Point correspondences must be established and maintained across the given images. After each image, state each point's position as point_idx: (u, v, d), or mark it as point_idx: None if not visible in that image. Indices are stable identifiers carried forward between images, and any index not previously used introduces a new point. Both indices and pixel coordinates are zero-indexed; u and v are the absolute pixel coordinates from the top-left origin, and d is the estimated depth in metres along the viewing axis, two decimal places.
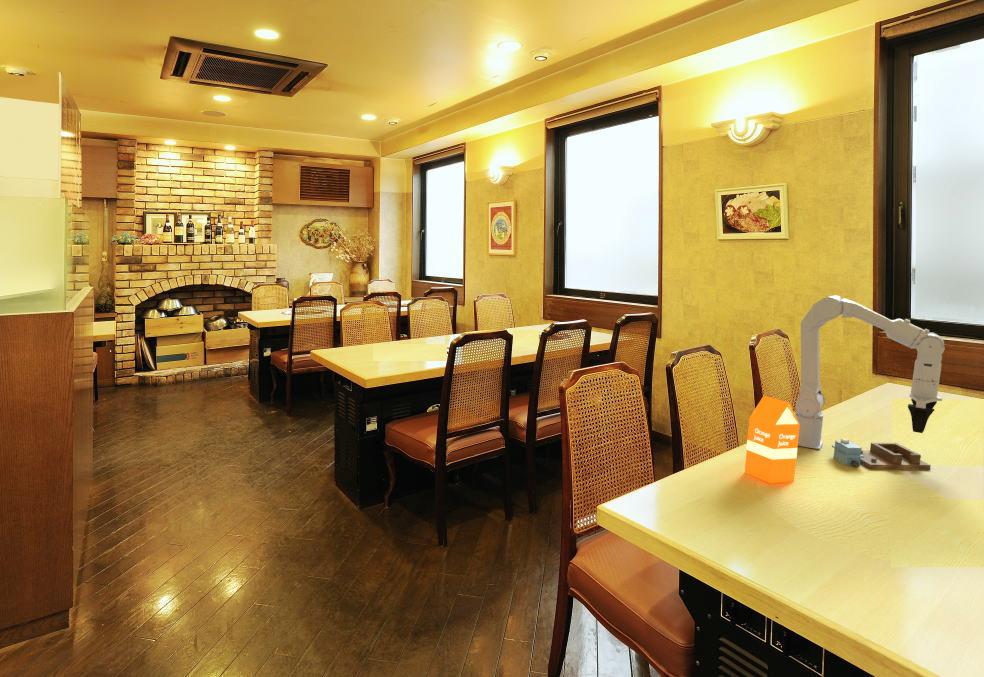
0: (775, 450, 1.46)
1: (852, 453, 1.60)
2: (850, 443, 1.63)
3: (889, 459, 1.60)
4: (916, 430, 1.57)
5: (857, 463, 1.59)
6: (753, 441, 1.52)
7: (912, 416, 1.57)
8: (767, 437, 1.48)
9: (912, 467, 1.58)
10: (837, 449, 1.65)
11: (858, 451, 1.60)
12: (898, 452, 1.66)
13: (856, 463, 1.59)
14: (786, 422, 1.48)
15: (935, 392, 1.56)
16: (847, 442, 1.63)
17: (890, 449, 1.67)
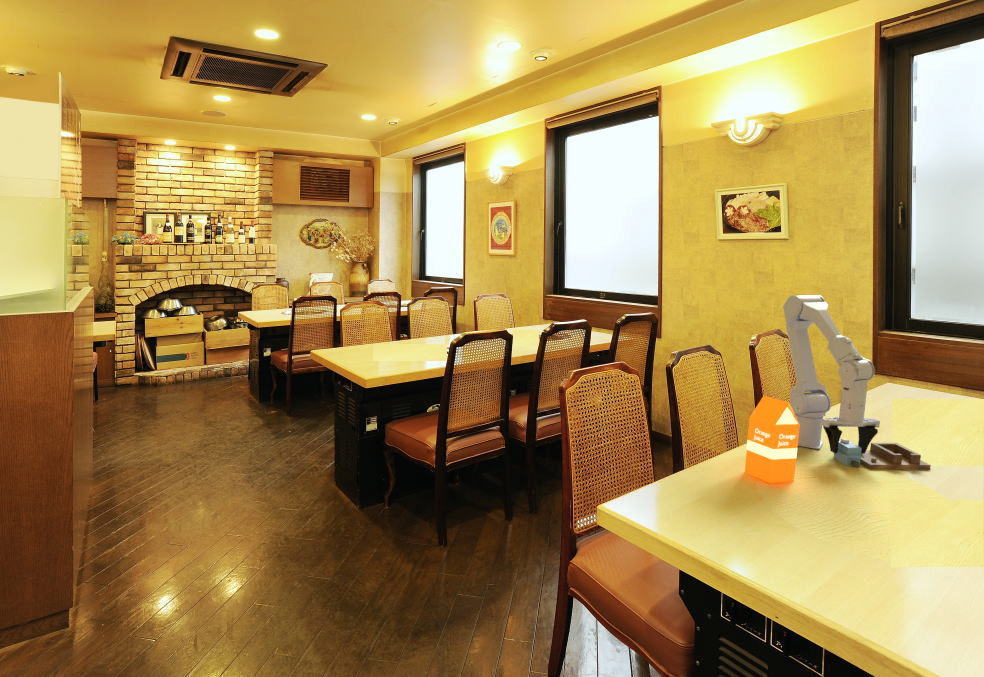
0: (775, 450, 1.46)
1: (852, 453, 1.60)
2: (850, 443, 1.63)
3: (889, 459, 1.60)
4: (831, 450, 1.63)
5: (857, 463, 1.59)
6: (753, 441, 1.52)
7: (827, 435, 1.64)
8: (767, 437, 1.48)
9: (912, 467, 1.58)
10: None
11: (858, 451, 1.60)
12: (898, 452, 1.66)
13: (856, 463, 1.59)
14: (786, 422, 1.48)
15: (851, 416, 1.59)
16: (847, 442, 1.63)
17: (890, 449, 1.67)
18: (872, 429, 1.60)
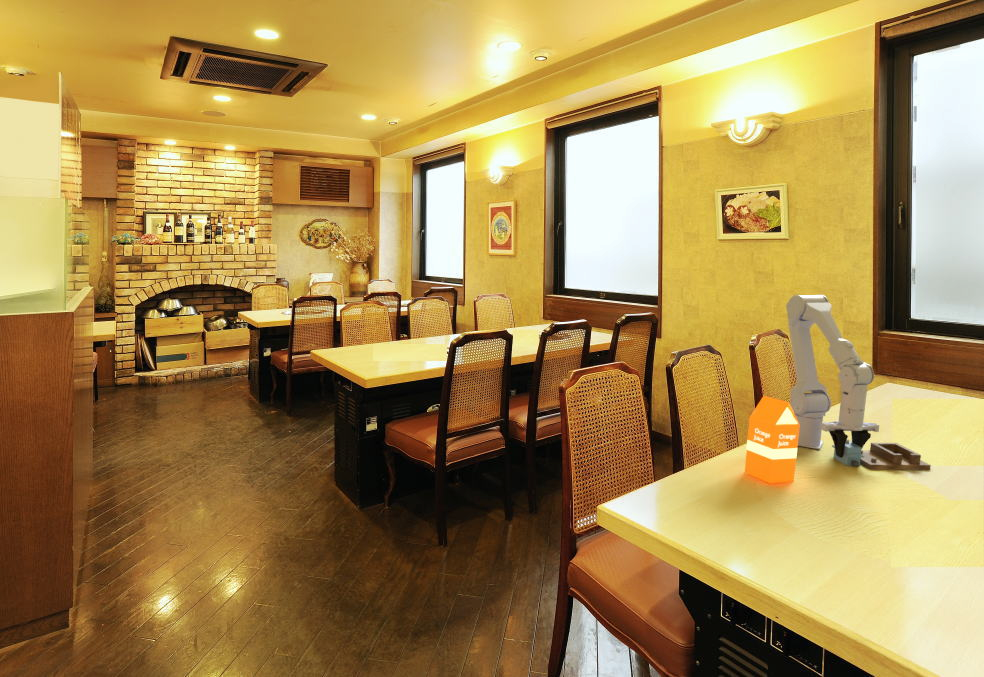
0: (775, 450, 1.46)
1: (852, 453, 1.60)
2: (850, 443, 1.63)
3: (889, 459, 1.60)
4: (837, 454, 1.64)
5: (857, 463, 1.59)
6: (753, 441, 1.52)
7: (833, 439, 1.64)
8: (767, 437, 1.48)
9: (912, 467, 1.58)
10: None
11: (858, 451, 1.60)
12: (898, 452, 1.66)
13: (856, 463, 1.59)
14: (786, 422, 1.48)
15: (851, 421, 1.59)
16: (847, 442, 1.63)
17: (890, 449, 1.67)
18: (865, 433, 1.60)
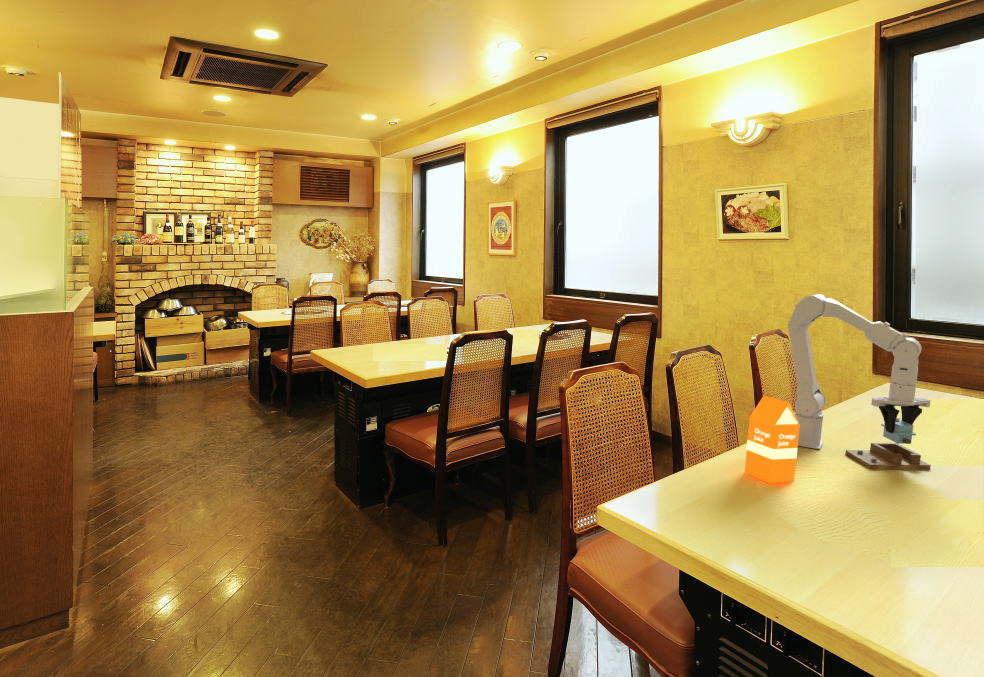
0: (775, 450, 1.46)
1: (904, 431, 1.59)
2: (901, 421, 1.62)
3: (889, 459, 1.60)
4: (887, 429, 1.63)
5: (909, 441, 1.58)
6: (753, 441, 1.52)
7: None
8: (767, 437, 1.48)
9: (912, 467, 1.58)
10: None
11: (910, 429, 1.59)
12: (898, 452, 1.66)
13: (908, 441, 1.58)
14: (786, 422, 1.48)
15: (902, 395, 1.58)
16: (898, 420, 1.62)
17: (890, 449, 1.67)
18: (916, 408, 1.59)
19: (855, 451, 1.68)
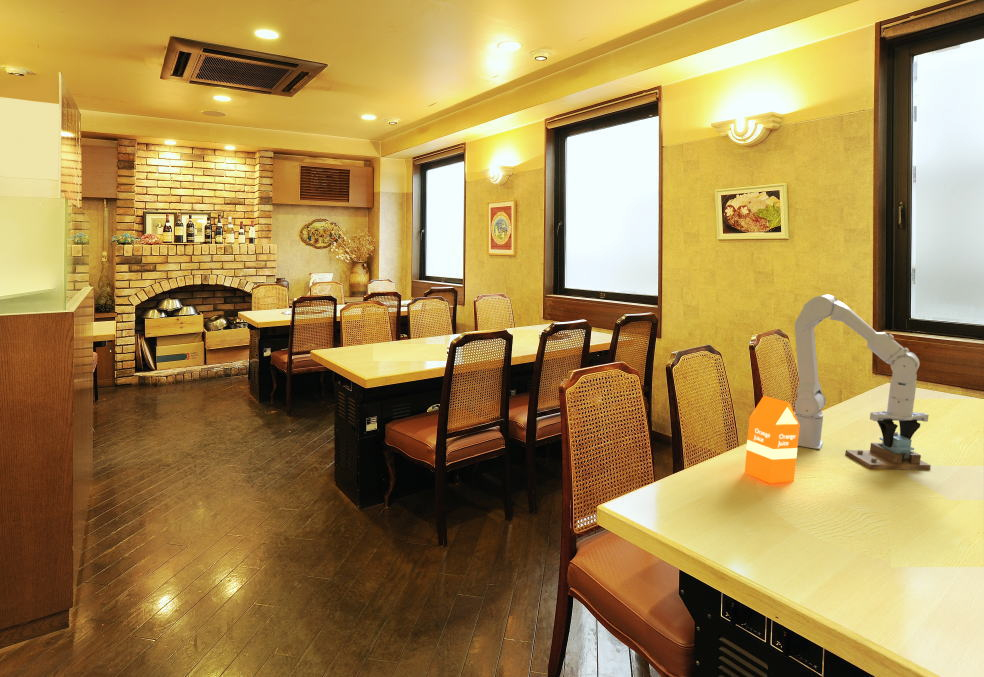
0: (775, 450, 1.46)
1: (902, 445, 1.60)
2: (899, 435, 1.63)
3: (889, 459, 1.60)
4: (885, 444, 1.63)
5: (907, 455, 1.59)
6: (753, 441, 1.52)
7: (881, 429, 1.64)
8: (767, 437, 1.48)
9: (912, 467, 1.58)
10: None
11: (908, 443, 1.59)
12: None
13: (906, 455, 1.59)
14: (786, 422, 1.48)
15: (901, 410, 1.59)
16: (896, 434, 1.63)
17: None
18: (914, 423, 1.60)
19: (855, 451, 1.68)
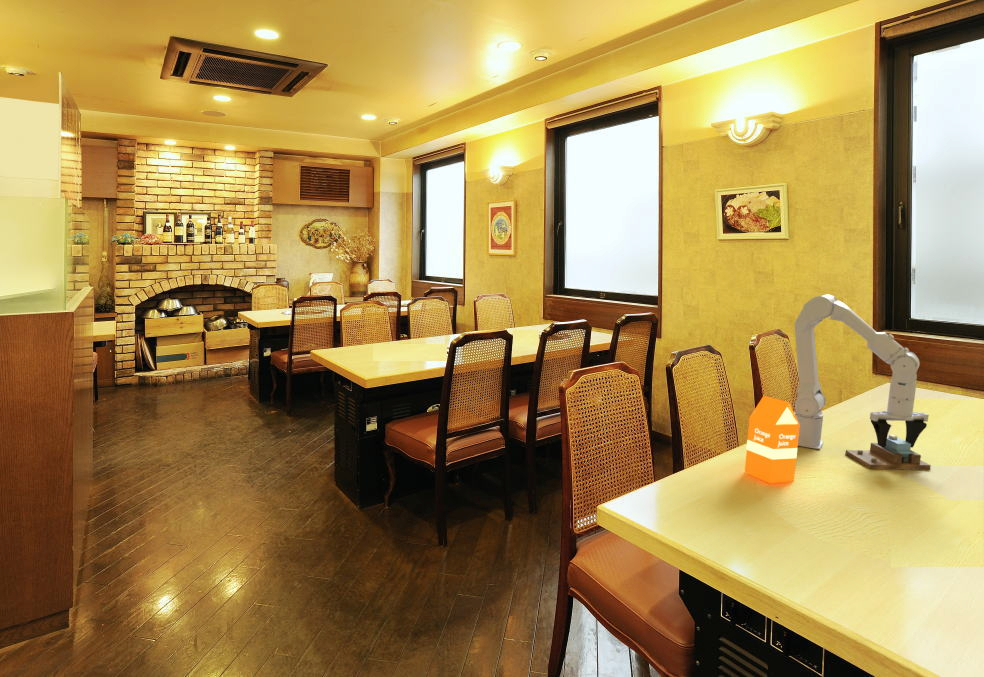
0: (775, 450, 1.46)
1: (901, 449, 1.60)
2: (898, 439, 1.63)
3: (889, 459, 1.60)
4: (879, 444, 1.63)
5: (907, 459, 1.59)
6: (753, 441, 1.52)
7: None
8: (767, 437, 1.48)
9: (912, 467, 1.58)
10: None
11: (907, 447, 1.60)
12: None
13: (906, 459, 1.59)
14: (786, 422, 1.48)
15: (901, 410, 1.59)
16: (895, 438, 1.63)
17: None
18: (921, 423, 1.60)
19: (855, 451, 1.68)
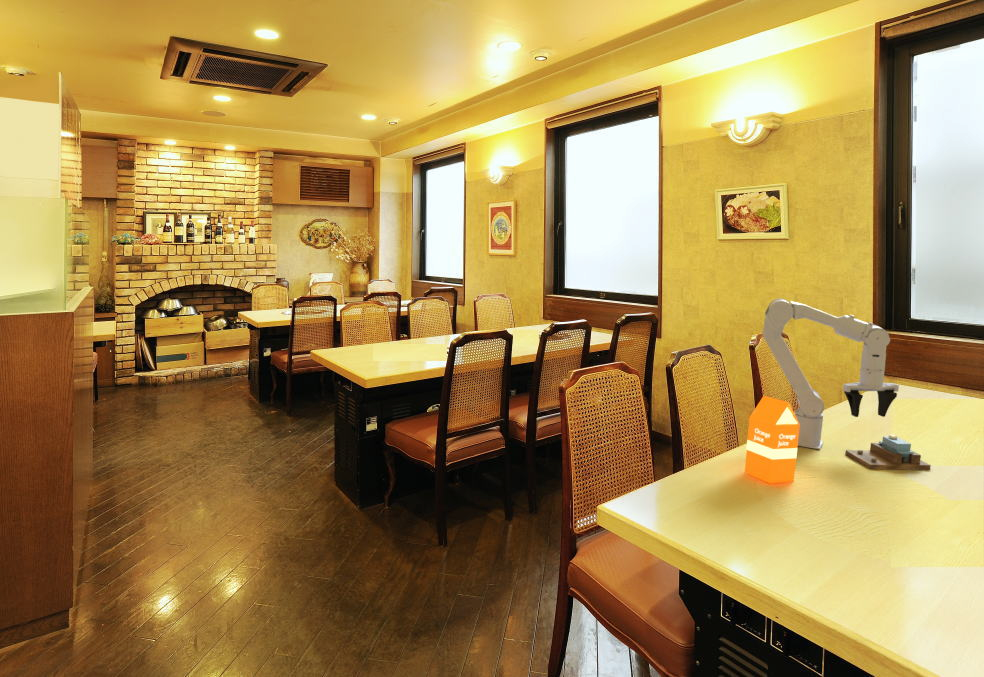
0: (775, 450, 1.46)
1: (901, 449, 1.60)
2: (898, 439, 1.63)
3: (889, 459, 1.60)
4: (852, 414, 1.71)
5: (907, 459, 1.59)
6: (753, 441, 1.52)
7: (848, 400, 1.71)
8: (767, 437, 1.48)
9: (912, 467, 1.58)
10: (885, 445, 1.64)
11: (907, 447, 1.60)
12: None
13: (906, 459, 1.59)
14: (786, 422, 1.48)
15: (871, 381, 1.66)
16: (895, 438, 1.63)
17: None
18: (891, 393, 1.67)
19: (855, 451, 1.68)
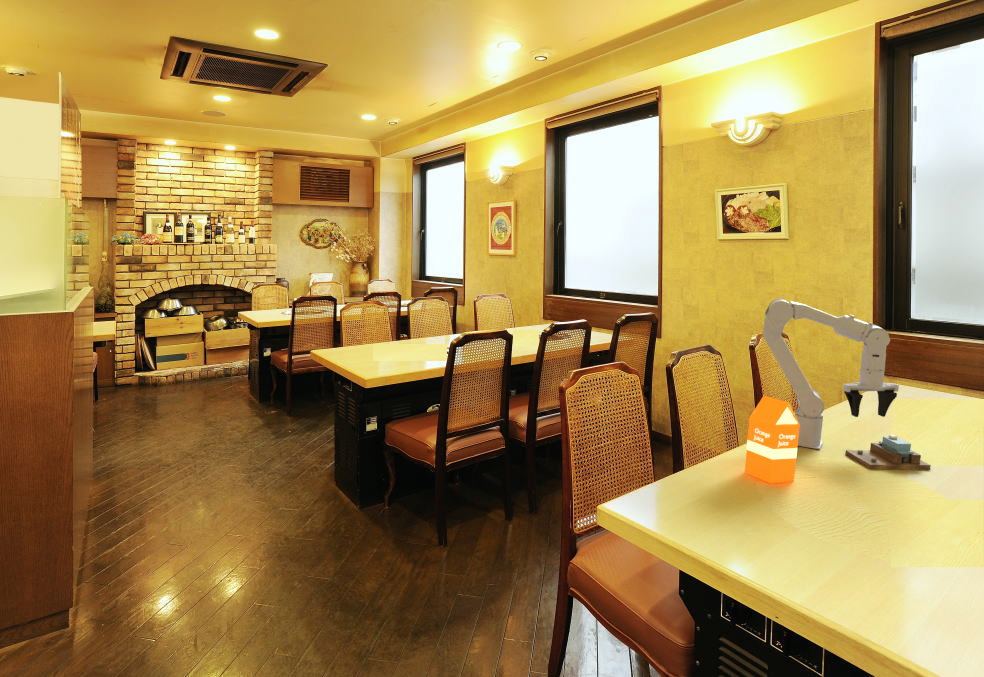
0: (775, 450, 1.46)
1: (901, 449, 1.60)
2: (898, 439, 1.63)
3: (889, 459, 1.60)
4: (852, 414, 1.71)
5: (907, 459, 1.59)
6: (753, 441, 1.52)
7: (848, 400, 1.71)
8: (767, 437, 1.48)
9: (912, 467, 1.58)
10: (885, 445, 1.64)
11: (907, 447, 1.60)
12: None
13: (906, 459, 1.59)
14: (786, 422, 1.48)
15: (871, 381, 1.66)
16: (895, 438, 1.63)
17: None
18: (891, 393, 1.67)
19: (855, 451, 1.68)
